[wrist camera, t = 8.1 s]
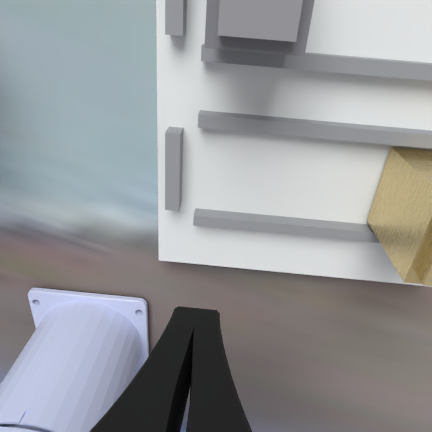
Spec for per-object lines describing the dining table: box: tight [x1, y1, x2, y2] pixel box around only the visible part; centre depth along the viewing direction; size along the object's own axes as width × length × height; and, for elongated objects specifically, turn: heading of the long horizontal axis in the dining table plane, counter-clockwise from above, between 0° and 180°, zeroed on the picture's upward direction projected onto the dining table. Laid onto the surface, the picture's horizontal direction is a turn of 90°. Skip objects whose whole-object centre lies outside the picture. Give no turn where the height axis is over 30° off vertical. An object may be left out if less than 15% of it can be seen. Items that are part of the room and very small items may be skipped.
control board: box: [156, 0, 432, 287], centre depth 16 cm, size 22×16×2 cm
